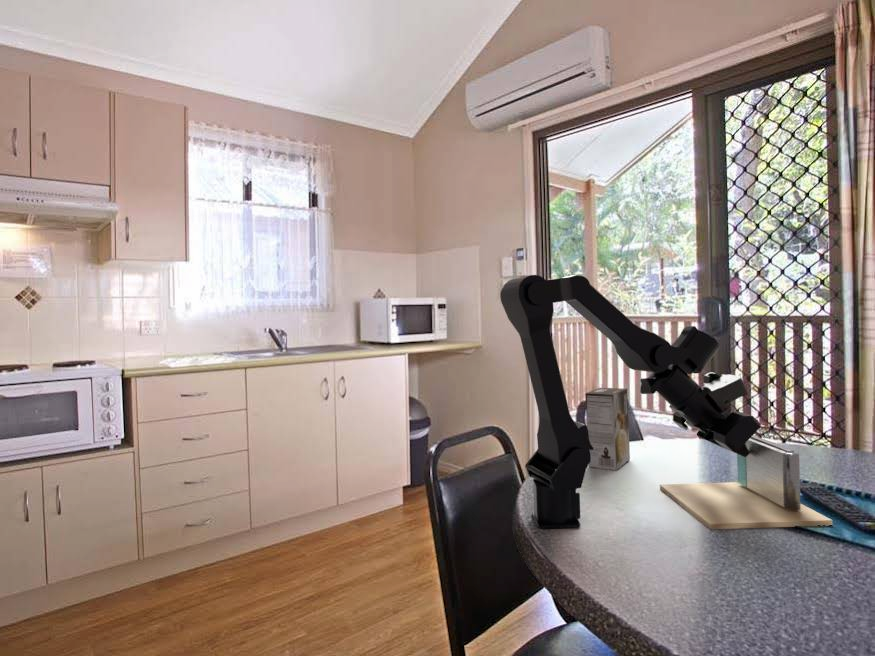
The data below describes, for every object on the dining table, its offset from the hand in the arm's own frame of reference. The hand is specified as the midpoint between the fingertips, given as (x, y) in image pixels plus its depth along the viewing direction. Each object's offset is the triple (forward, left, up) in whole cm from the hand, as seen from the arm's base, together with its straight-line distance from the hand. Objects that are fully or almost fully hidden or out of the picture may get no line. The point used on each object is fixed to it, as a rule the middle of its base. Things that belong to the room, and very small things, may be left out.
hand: (746, 454), depth 89 cm
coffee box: (-17, +22, -7) cm, 29 cm away
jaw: (+2, -3, -6) cm, 7 cm away
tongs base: (-4, -4, -7) cm, 9 cm away
